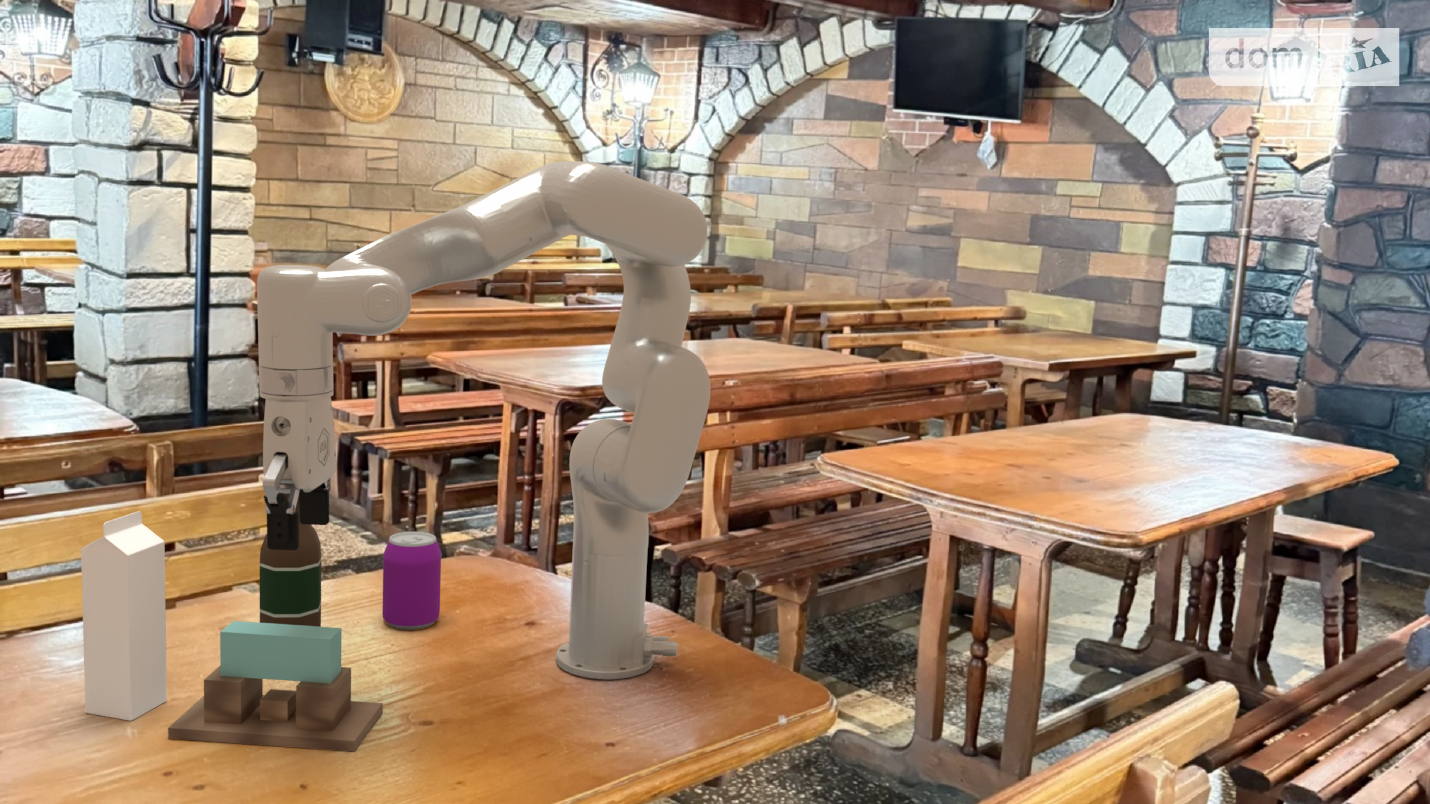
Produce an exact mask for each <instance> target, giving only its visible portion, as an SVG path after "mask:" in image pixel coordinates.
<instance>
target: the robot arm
mask: <svg viewBox="0 0 1430 804" xmlns="http://www.w3.org/2000/svg"><path fill="white" fill-rule="evenodd" d="M569 236H576V237H577V236H578V237H583V238H584V237H585V238H589V239H592V240H595V241H597V242H600V243H603V244H605V245H606V247H607V248H608V249H609V251H610V253H612V256H613V257H614V258H615V260H616V262H617V264H618V267H619V269H620V273H621V276H622V282H623V295H622V302H621V305H620V306H621V307H620V310H619V311H620V312H619V315H618V320H617V322H616V326H615V329H614V332H613V336H612V339H611V343H610V347H609V350H608V354H607V358H606V360H605V363H604V368H603V371H602V379H601V382H602V383H601V385H602V386H601V387H602V390H603V393H604V395H605V397H606V398H607V399H608V400H609V402H611V404H612V405H615V406H616V407H618V408H619V409H622V410H624V411H627V412H629V413H631V414H633V416H632V421H631V423H630V422H627V421H623V420H621V419H615V418H605V419H599V420H598V419H597V420H595V421H593V422H591V423H589V424H587V425H586V426H584V427H583V428H582V429H581V430H580V431H579V432H578V434H577V435H576V437H574V438H575V439H573V442H572V445H571V448H570V454H569V465H568V467H569V477H570V485H571V493H572V501H573V502H572V503H573V535H572V536H573V538H572V541H573V542H572V559H571V584H570V585H571V587H570V604H569V605H570V609H569V610H570V611H569V632H568V635H569V637H568V641H567V642H566V643H563V644H562V645H561V646H559V647H558V648H557V650H556V652H555V662H556V663H557V666H559V668H561V669H562V670H563V671H565V672H566V673H569V674H572V675H574V676H579V677H583V678H588V679H595V680H620V679H627V678H633V677H637V676H640V675H643V674H644V673H647V672H648V671H650V670H651V668H653V666H654V663H655V655H660V656H662V657H674V658H677V656H678V641H674V640H673V641H671V640H670V636H668V635H652V634H653V633H652V632H651V633H650V632H649V633H648V628H649V627H648V625H649V624H648V623H645V610H646V609H645V608H646V589H647V587H646V586H647V571H648V570H647V567H648V566H647V565H648V548H649V533H650V532H649V531H650V530H649V516H648V514H655V513H658V512H661V511H664V510H666V509H667V508H669V507H670V506H671V505H673V504H674V503H675V501H676V500H677V499H678V498H679V497H680V495H681V494H682V492H683V490H684V488H685V486H686V484H687V482H688V479H689V476H690V474H691V471H692V467H693V463H694V460H695V456H696V452H697V450H698V446H699V442H700V438H701V436H702V431H703V428H704V425H705V421H706V418H707V414H708V410H709V407H710V401H711V380H710V375H709V372H708V369H707V366H706V365H705V363H704V362H703V360H702V359H701V358H700V356H698V355H697V354H696V353H695V352H693V351H691V350H689V349H687V348H685V347H682V345H683V342H684V337H685V334H686V329H687V324H688V319H689V315H690V310H691V303H692V292H691V291H692V290H691V282H690V278H689V275H688V270H687V268H686V265H687V264H689V263H691V262H692V261H693V260H694V259H696V258H697V257H698V256H699V255H700V254H701V252H702V251H703V250H704V248H705V245H706V243H707V239H708V223H707V219H706V217H705V215H704V213H703V211H702V209H701V207H699V205H697V203H696V202H695V201H693V200H692V199H691V198H689V197H688V196H685V195H684V194H681V193H678V192H676V191H673V190H670V189H669V188H665V187H663V186H661V185H657V184H655V183H653V182H650V181H647V180H644V179H642V178H639V177H637V176H634V175H631V174H629V173H626V172H623V171H621V170H619V169H616V168H613V167H611V166H608V165H606V164H602V163H598V162H595V161H594V162H593V161H576V160H575V161H574V160H573V161H572V160H558V161H553V162H549V163H547V164H544V165H542V166H540V167H537V168H534V169H532V171H529V172H527V173H525V174H523V175H521V176H519V177H517V178H515V179H513V180H511V181H509V182H507V183H505V184H503V185H501V186H499V187H498V188H495V189H494V190H491V191H490V192H487V193H485V194H483V195H481V196H479V197H476V198H474V199H472V200H470V201H469V202H467V203H464V204H462V205H460V206H458V207H456V208H453V209H450V210H448V211H445V212H442V213H440V214H437V215H434V216H433V217H431V218H428V219H425V220H423V221H421V222H419V223H416V224H413V225H410V226H408V227H405V228H402V229H399V230H396V231H394V232H392V233H389V234H387V235H385V236H383V237H381V238H379V239H376V240H375V241H372V242H371V243H368V244H366V245H364V246H362V247H360V248H358V249H355V250H353V251H352V252H350V253H348V254H346V255H344V256H342V257H340V258H338V259H337V260H335V261H334V262H332V263H330V264H329V265H328V266H327V267H326V268H322V267H320V266H314V265H305V264H303V265H302V264H279V265H277V264H276V265H271V266H267V267H264V268H263V269H261V270H260V272H259V273H258V275H257V279H256V280H257V282H256V297H257V299H256V300H257V301H256V303H257V304H256V305H257V333H258V334H257V336H258V337H257V338H258V381H259V383H258V384H259V389H258V390H259V396H260V398H263V399H265V403H264V417H263V434H262V435H263V440H262V462H263V463H262V464H263V465H262V468H263V479H262V488H263V492H264V496H263V501H264V503H265V506H264V507H265V508H264V511H265V514H266V534H267V546H268V548H269V549H271V550H293V551H294V550H297V549H298V548H299V513H295V508H296V504H297V500H298V496H299V505H300V523H301V524H308V525H312V526H326V525H328V524H329V523H330V490H329V488H330V483H331V481H330V479H331V478H332V477H333V476H334V475H335V473H336V470H337V453H336V437H335V436H336V435H335V421H334V411H333V410H334V409H333V405H332V398H331V397H333V396H334V358H333V357H334V356H333V355H334V352H333V351H334V347H333V346H334V345H333V341H334V340H333V339H334V338H333V337H334V336H333V333H339V334H340V333H343V334H353V335H354V334H355V335H361V336H382V335H386V334H390V333H392V332H394V331H395V330H397V329H399V328H400V327H401V326H402V325H403V324H404V323H405V322H406V321H407V319H408V317H409V316H410V313H411V310H412V307H413V300H412V299H413V298H412V295H414V294H416V293H418V292H421V291H423V290H427V289H429V288H432V287H435V286H438V285H439V286H440V285H443V284H450V283H456V282H463V281H473V280H479V279H483V278H485V277H490V276H492V275H495V274H498V273H500V272H502V271H503V270H505V269H507V268H509V267H511V266H513V265H514V264H517V263H518V262H520V261H522V260H524V259H526V258H528V257H530V256H532V255H533V254H535V253H538V252H539V251H541V250H543V249H545V248H547V247H549V246H551V245H553V244H554V243H557V242H558V241H560V240H562V239H564V238H565V237H569ZM285 483H287V484H285ZM284 494H290V495H289V499H288V501H287V499H286V497H285V495H284Z"/></svg>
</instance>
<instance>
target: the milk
mask: <svg viewBox="0 0 1430 804" xmlns="http://www.w3.org/2000/svg"><path fill="white" fill-rule="evenodd" d="M142 516H143V514H142V511H141V510H138V511H135V512H132V513H129V514H126V515H123V516H120V517H116V518H114V519H111V520H107V521H105V522H104V523H103V526H102V533H103V534H102V537H100V538H98V539H95V540H94V541H93V542H90V543H88V544H86V545H85V546H82V547H81V549H80V558H81V560H80V561H81V562H80V565H81V591H82V592H81V596H82V597H81V599H82V634H83V635H82V636H83V637H82V638H83V666H84V669H83V670H84V671H83V672H84V709H85V713H86V714H90V715H96V716H102V717H106V718H114V719H117V720H118V719H119V720H124V721H129V722H132V721H134V720H135V719H137V718H139V717H141V716H143V715H145V714H146V713H148V712H150V711H151V710H153V709H155V708H156V707H158V706H160V705H162V704H163V703H165V702H168V701H167V700H168V694H167V693H168V689H167V688H168V687H167V686H168V685H167V684H168V683H167V681H168V680H167V678H168V677H167V624H166V619H167V617H166V615H167V614H166V611H167V610H166V562H165V561H166V560H165V558H166V557H165V553H166V552H165V549H166V547H165V541H164V539H162V537H160V536H158V535H157V534H156V533H154V532H153V531H152V530H151V529H150V528H148V527H147V526H146V525H144V524H143V517H142Z"/></svg>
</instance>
